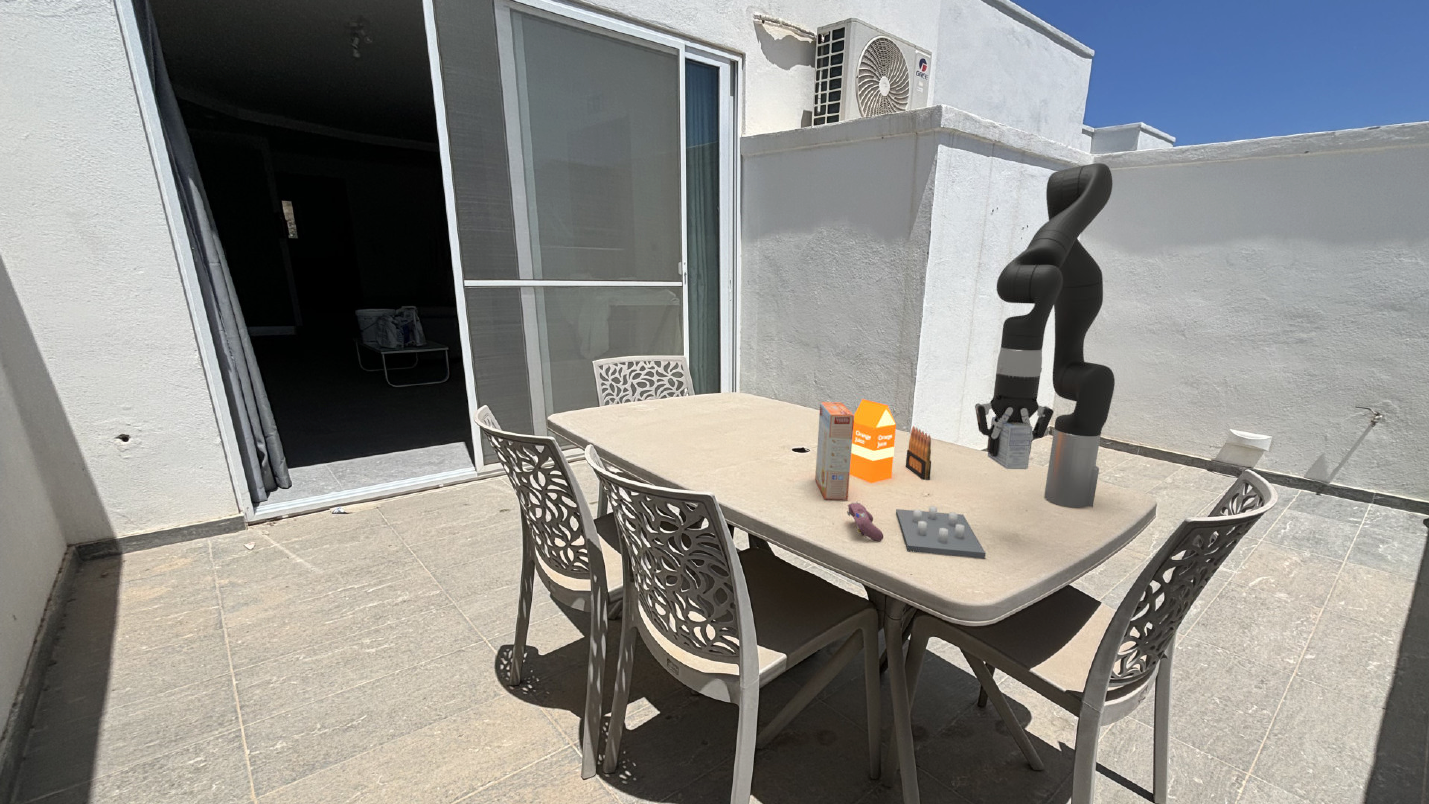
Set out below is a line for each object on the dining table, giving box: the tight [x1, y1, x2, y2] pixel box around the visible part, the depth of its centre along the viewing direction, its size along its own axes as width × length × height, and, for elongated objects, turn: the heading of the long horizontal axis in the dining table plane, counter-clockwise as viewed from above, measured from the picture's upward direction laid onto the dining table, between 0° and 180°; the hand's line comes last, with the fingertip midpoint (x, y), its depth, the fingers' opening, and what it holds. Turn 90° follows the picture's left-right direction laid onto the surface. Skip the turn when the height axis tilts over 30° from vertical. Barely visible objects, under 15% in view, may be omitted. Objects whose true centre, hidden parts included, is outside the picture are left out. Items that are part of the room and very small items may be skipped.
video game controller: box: [846, 501, 884, 542], centre depth 118 cm, size 10×5×7 cm, turn 179°
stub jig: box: [895, 505, 987, 560], centre depth 117 cm, size 14×18×4 cm
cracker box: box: [814, 401, 854, 501], centre depth 139 cm, size 14×6×21 cm, turn 179°
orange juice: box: [849, 398, 897, 484], centre depth 150 cm, size 8×9×20 cm
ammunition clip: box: [905, 425, 932, 481], centre depth 153 cm, size 11×2×12 cm, turn 7°
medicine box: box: [987, 416, 1034, 470], centre depth 113 cm, size 8×4×9 cm, turn 179°
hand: (1007, 456), depth 113 cm, fingers closed on medicine box, 5 cm apart
